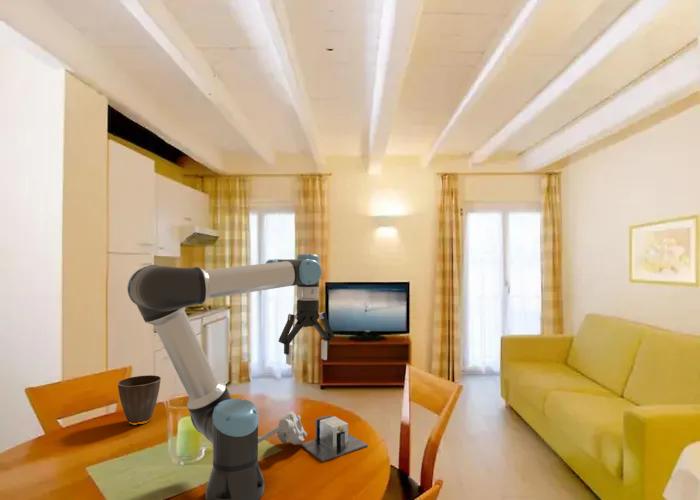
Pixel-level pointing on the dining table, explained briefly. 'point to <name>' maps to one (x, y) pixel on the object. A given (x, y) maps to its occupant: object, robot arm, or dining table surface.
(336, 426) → the hollow grey box
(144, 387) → the plant pot
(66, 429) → the dining table surface
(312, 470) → the dining table surface
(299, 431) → the valve
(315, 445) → the dark grey angled piece
